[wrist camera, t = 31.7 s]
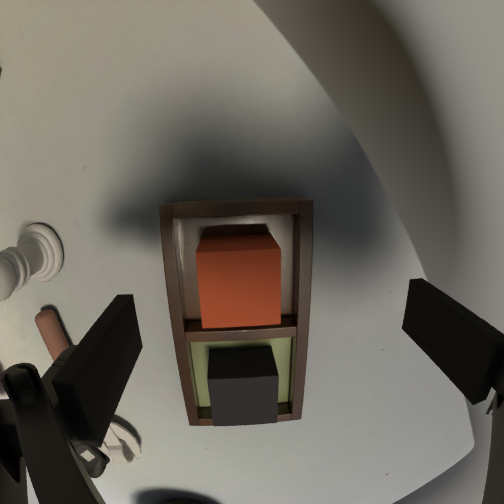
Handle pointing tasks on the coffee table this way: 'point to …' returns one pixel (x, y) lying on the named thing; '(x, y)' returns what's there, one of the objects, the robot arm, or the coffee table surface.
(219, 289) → the orange block
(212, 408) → the black cube
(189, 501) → the planter
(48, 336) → the pizza cutter
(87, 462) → the toy car
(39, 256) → the chess piece
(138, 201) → the coffee table surface
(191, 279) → the frame
